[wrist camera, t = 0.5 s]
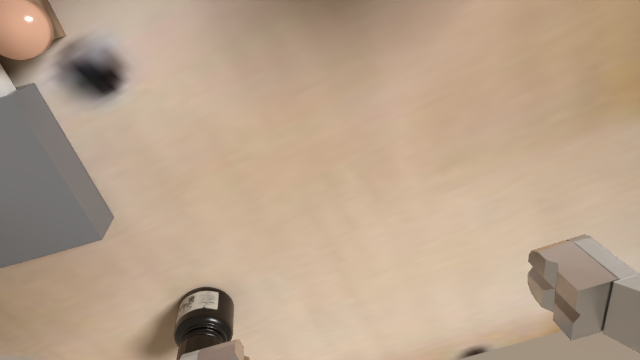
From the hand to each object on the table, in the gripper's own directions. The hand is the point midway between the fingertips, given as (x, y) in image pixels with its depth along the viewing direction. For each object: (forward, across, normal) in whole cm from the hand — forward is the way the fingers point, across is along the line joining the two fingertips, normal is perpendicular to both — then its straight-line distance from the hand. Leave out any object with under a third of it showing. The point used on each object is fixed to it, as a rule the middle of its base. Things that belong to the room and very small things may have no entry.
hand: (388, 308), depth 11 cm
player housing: (+44, +38, +7) cm, 59 cm away
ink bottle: (+44, +23, +38) cm, 63 cm away
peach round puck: (+40, +25, -8) cm, 48 cm away
